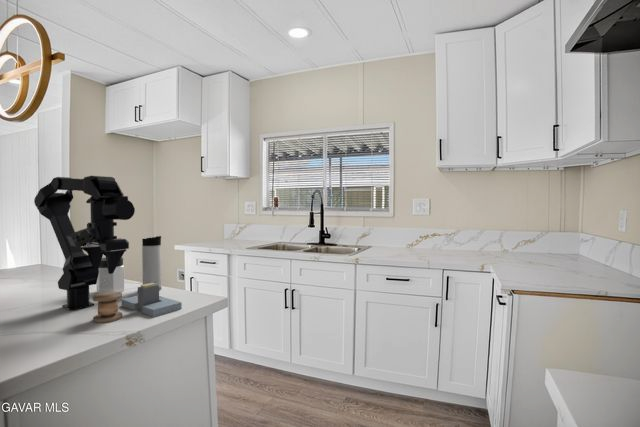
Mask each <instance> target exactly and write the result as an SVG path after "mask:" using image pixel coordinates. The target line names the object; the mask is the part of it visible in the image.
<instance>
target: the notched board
mask: <svg viewBox="0 0 640 427" xmlns="http://www.w3.org/2000/svg"><path fill="white" fill-rule="evenodd" d="M120 299H121V300H120V301H121V302H120V303H121V304H120V306H121V307H125V308H127V309H130V310H133V311H136V310H137V311H138V295H135V296H131V297H129V296H128V297H126V298H120ZM182 305H183V304H182V302H181V301H179V300H176V299H171V298H169V297H165V296H160V295H159V302H157V303H153V304H149V305H145V306H142V311H141V312H142V314H145V315H147V316H150V317H153V318H154V317H157V316H161V315H165V314H167V313H171V312H175V311H178V310H181V309H182Z"/></svg>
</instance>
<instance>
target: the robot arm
mask: <svg viewBox="0 0 640 427" xmlns="http://www.w3.org/2000/svg"><path fill="white" fill-rule="evenodd" d="M58 191H66V192H65V193H64V192H58ZM73 191H79V192H83V194H86V195H89V196H90V197H89V198H88V199H87V200H86V201H85V203H86V204H90V222H87V224H86V228H83V229H79V230H78V231H75V229H74V226H73V223H72V221H71V219H70V217H69V212H70V209H71V203H72V201H73V199H74V195H73ZM33 201H34V202H33V203H34V206H35V207H36V209H37V210H38V212H39V214H40V215H41V216H43V217H44V218H46V219H48V220H49V222H50V225H51V227H52V229H53V232H54V234H55V238H56V239H57V242H58V244H59V246H60V250H61V251H62V255H63V257H64V259H65V262H64V264H63V267H62V272H63V273H62V275H61V276H60V278H59V279H58V281H57V286H58V289H59V290H62V291H63V290H64V291H66V304H63V305H62V307H63V308H64V309H66V310H69V311H74V310H78V309H83V308H87V307H92V306H95V303H94V302H92V301H90V286H93V285H97V279H98V274H99V266H100V263H101V260H102V258H103V256H105V258H106V262H107V268H108V273H109V274H113V273H114V271H115V269H116V267H117V265H118V263H119V261H120V259H121V257H122V258H123V255H124V253H125V252H127V249H128V250H129V248H130V242H129V241H128V240H127V239H126V238H122V237H121V238H119V237H118V236H117V235H115V231H114V230H115V226H116V227H117V225H118V223H117V222H116V221H115V220H117V221H118V220H119V221H122V220H123V221H127V220H130V219H131V218H132V217H134V215H135V213H136V212H135V211H136V210H135V206H134V204H133V202H132V201H130V200H129V196H128V195H124V193H123V192H122V190H121V187H120V185H119V183H118V182H117V181H116V178H114V177H113V176H102V175H88V176H85V177H83V178H72V177H67V176H66V177H65V176H56V177H52V180H51V182H49V183H48V184H46V185H45V186H42V187H41V188H40V189H39V191H38V192H37V194H36V195H35V197H34V200H33ZM84 251H85V252H86V253H87V254H86V253H85V252H84Z"/></svg>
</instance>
